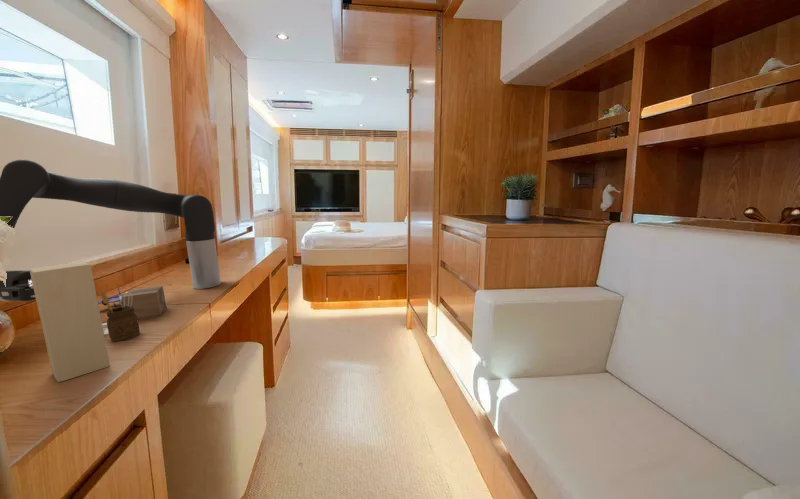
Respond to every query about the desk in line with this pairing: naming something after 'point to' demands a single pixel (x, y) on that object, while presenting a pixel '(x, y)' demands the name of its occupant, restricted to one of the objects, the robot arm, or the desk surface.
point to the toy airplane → (114, 299)
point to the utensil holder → (121, 321)
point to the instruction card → (105, 329)
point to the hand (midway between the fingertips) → (71, 285)
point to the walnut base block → (146, 301)
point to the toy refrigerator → (70, 319)
